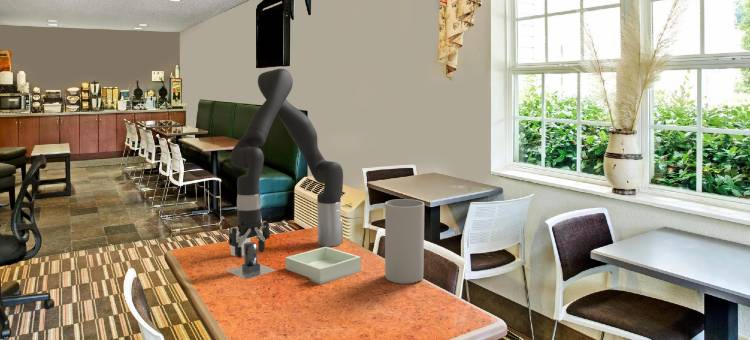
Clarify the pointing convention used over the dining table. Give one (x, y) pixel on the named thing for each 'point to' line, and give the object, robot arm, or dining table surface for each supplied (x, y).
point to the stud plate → (246, 275)
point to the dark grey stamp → (250, 258)
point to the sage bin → (324, 264)
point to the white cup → (241, 246)
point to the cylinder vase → (404, 240)
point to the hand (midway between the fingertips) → (250, 254)
